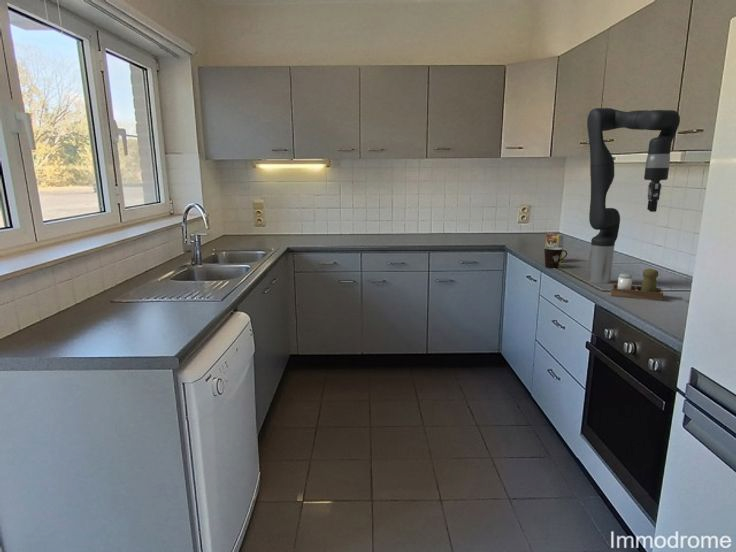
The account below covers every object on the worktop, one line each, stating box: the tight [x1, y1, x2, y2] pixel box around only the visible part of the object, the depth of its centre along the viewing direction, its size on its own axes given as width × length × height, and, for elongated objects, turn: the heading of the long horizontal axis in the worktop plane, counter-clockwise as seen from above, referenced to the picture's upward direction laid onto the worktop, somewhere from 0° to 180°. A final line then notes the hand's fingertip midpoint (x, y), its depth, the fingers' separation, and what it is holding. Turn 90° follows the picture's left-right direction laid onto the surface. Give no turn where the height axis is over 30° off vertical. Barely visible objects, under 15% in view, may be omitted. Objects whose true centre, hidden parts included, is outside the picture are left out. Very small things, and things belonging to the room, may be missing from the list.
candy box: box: [544, 232, 565, 263], centre depth 253 cm, size 9×4×15 cm, turn 26°
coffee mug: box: [543, 247, 568, 269], centre depth 238 cm, size 12×9×10 cm
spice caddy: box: [610, 283, 665, 302], centre depth 180 cm, size 9×17×4 cm, turn 64°
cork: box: [640, 268, 659, 292], centre depth 177 cm, size 6×6×11 cm
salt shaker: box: [617, 272, 633, 290], centre depth 181 cm, size 5×5×8 cm
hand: (651, 210), depth 173 cm, fingers open, 8 cm apart
